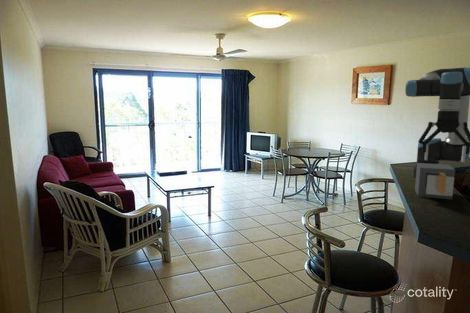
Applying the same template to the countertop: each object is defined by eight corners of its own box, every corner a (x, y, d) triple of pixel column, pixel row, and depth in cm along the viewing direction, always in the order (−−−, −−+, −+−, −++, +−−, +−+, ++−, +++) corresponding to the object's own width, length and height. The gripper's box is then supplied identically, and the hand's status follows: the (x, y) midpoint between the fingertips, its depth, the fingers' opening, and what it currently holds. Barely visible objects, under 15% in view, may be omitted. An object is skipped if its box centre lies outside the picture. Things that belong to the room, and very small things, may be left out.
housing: (414, 189, 174) (417, 162, 171) (446, 192, 168) (449, 164, 166) (418, 196, 161) (420, 167, 159) (452, 199, 155) (455, 169, 153)
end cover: (422, 187, 162) (424, 166, 161) (446, 189, 158) (448, 168, 157) (428, 197, 145) (430, 174, 143) (455, 200, 141) (458, 176, 139)
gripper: (415, 110, 141) (411, 160, 144) (487, 110, 132) (481, 163, 135) (413, 110, 148) (410, 157, 151) (482, 110, 138) (476, 160, 142)
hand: (444, 160), depth 143 cm, fingers open, 13 cm apart
